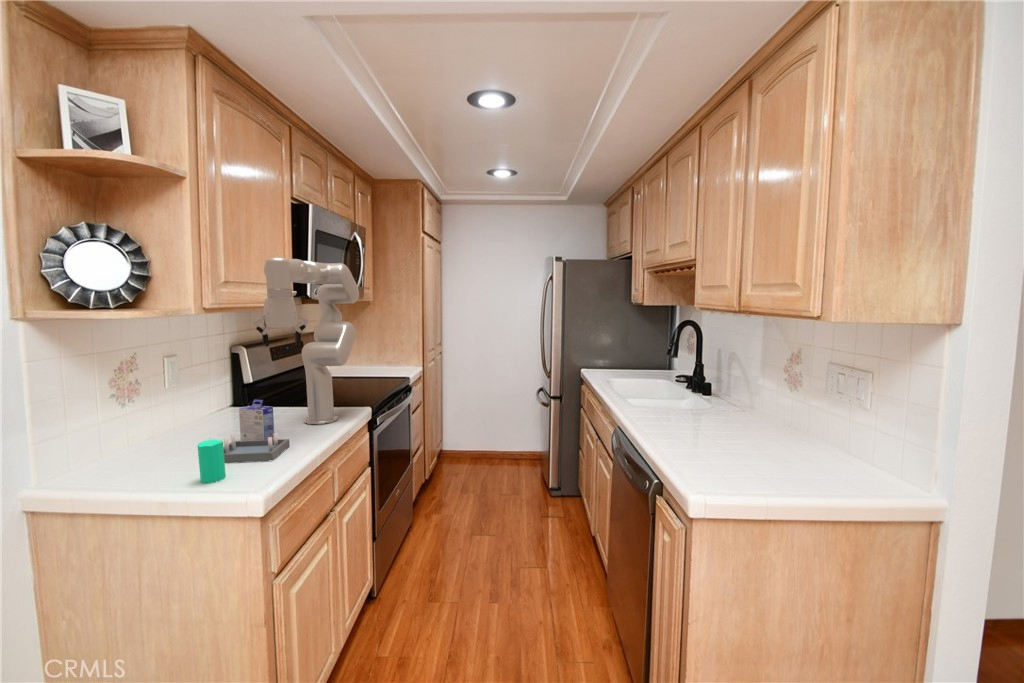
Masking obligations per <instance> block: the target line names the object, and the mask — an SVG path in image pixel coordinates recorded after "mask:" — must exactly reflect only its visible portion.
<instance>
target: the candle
mask: <svg viewBox="0 0 1024 683" xmlns="http://www.w3.org/2000/svg"><path fill="white" fill-rule="evenodd" d="M223 447H224V440H220V439H211V438H208V439H206V440H203V441H201V442H198V444H197V452H198V455H197V456H198V464H199V465H198V466H199V477H200V482H201V483H202V482H203V483H202V484H212V483H211V482H214V483H217V482H216V481H218V482H221V481H222V479H223V480H224V478H225V479H226V477H227V475H226V463H225V461H224V449H223ZM220 480H221V481H220Z"/></svg>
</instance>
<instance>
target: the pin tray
mask: <svg viewBox="0 0 1024 683" xmlns="http://www.w3.org/2000/svg"><path fill="white" fill-rule="evenodd" d="M273 436H274V440H272V437H268V440H248V441H241V440H236V434H230V441H231V442H230V443H229V438H224V439H223V449H224V461H225V464H230V462H238V463H244V462H243V461H261V462H270V461H269V460H274V459H275V458H276V457H277V456H278V455H279V456H281V453H282V452H283V451H284V450H285V449H286V450H287V449H288V448H290V447H289V446H291V445H290V438H279V436H278V433H277V432H274V434H273ZM278 438H279V439H278ZM286 450H285V451H286ZM285 451H284V452H285ZM284 452H283V453H284ZM283 453H282V454H283ZM279 456H278V457H279ZM278 457H277V458H278ZM277 458H276V459H277ZM276 459H275V460H276ZM275 460H274V461H275Z"/></svg>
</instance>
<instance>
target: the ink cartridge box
mask: <svg viewBox="0 0 1024 683" xmlns="http://www.w3.org/2000/svg"><path fill="white" fill-rule="evenodd" d="M263 403H264V399H253V402H252V404H251V405H246V406H243V407H241V408H238V416H239V419H238V420H239V434H240V435H239V437H240V441H248V440H268V437H272V440H274V436H273V434H274V433H275V421H274V407H273V406H271V405H263Z"/></svg>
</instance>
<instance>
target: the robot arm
mask: <svg viewBox="0 0 1024 683" xmlns="http://www.w3.org/2000/svg"><path fill="white" fill-rule="evenodd" d="M263 274H264V275H265V277H266V278H265V281H266V282H265V283H266V296H267V297H266V299H265V298H264V301H263V316H261V317H259V318H257V319H254V320H253V321H252V322H251V323H252V325H253V326H254V328H255V330H256V331H257V332H259V333H260V334H261V336H262V344H263V345H264V347H267V348H268V347H269V346H270V344H269V334H268V332H269V331H270V329H273V330H274V329H293V330H294V331H295V332H294V343H295V345H300V343H302V342H301V341H302V337H301V334H302V332H303V331H304V329H306V327H307V325H308V324H309V319H307V318H304V317H303V316H301V315H298V312H297V306H296V302H295V298H293V297H294V296H296V295H297V291H296V290H295V291H294V290H293V289H292V283H297V284H298V283H299V284H312V285H315V284H316V285H320V286H319V287H318V289H317V299H318V303H319V307H320V308H319V309H320V311H321V312H320V316H319V319H318V322H317V325H316V326H315V329H314V333H313V340H314V341H313V342H312V341H311V342H307V343H306V344H305V345H303V347H302V349H301V358H302V362H303V366H304V370H305V380H306V381H305V382H306V397H307V398H306V399H307V400H306V401H307V414H308V416H307V417H306V418H304V420H303V421H304V424H306V423H307V424H306V425H311V424H318V425H325V423H327V424H330V423H331V424H332V423H334V422H336V421H338V419H339V415H337V414H335V412H334V393H333V392H334V390H333V376H332V373H331V372H330V370H329V369H328V367H341V366H342V367H343V366H344V365H346V363H347V362H348V360H349V358H350V355H351V352H352V349H353V345H354V342H355V338H356V329H355V326H354V325H353V324H352V323H351V322H350V321H342V320H343V315H342V313H341V311H340V309H339V308H338V307H337V306H336V305H338V304H343V305H344V304H354V303H356V302H358V301H359V298H360V291H359V287H358V285H357V282H356V280H355V278H354V277H353V274H352V272H351V270H350V268H349V267H348V266H347V265H346V264H344V263H342V262H337V263H334V262H333V263H331V262H329V263H328V262H327V263H326V262H325V263H324V262H318V261H312V260H302V259H301V258H300V259H298V258H286V257H269V258H266V260H265V263H264V265H263ZM299 321H300V322H302V324H301V325H300V326H298V324H299ZM261 322H263V327H264V328H262V327H261V326H260V323H261Z"/></svg>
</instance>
